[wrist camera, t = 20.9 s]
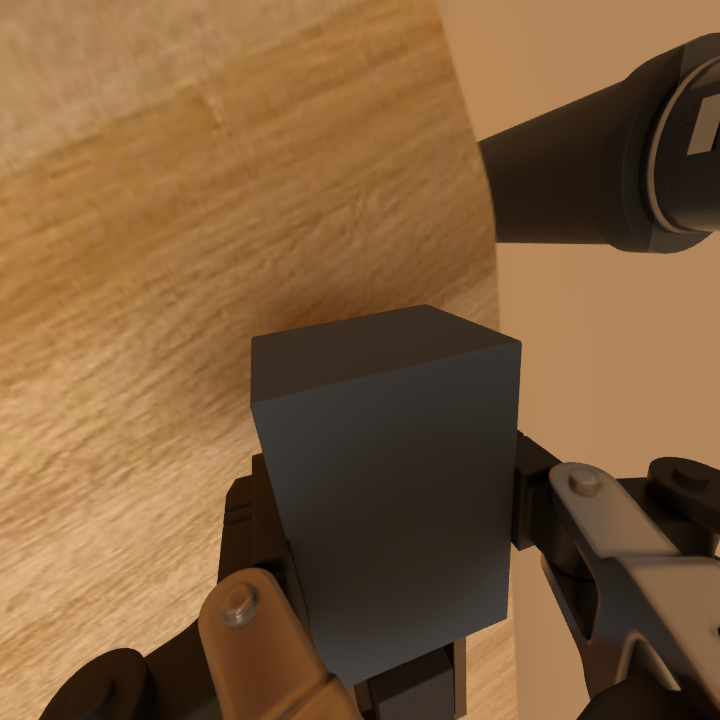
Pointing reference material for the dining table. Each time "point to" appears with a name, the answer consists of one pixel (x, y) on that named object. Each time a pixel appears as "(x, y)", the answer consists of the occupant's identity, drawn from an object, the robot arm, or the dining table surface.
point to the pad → (392, 478)
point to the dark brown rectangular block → (415, 689)
